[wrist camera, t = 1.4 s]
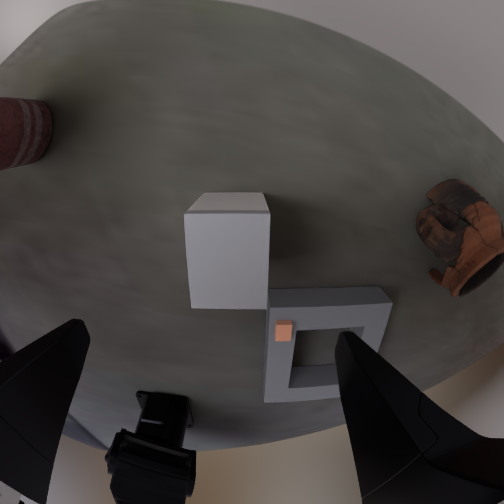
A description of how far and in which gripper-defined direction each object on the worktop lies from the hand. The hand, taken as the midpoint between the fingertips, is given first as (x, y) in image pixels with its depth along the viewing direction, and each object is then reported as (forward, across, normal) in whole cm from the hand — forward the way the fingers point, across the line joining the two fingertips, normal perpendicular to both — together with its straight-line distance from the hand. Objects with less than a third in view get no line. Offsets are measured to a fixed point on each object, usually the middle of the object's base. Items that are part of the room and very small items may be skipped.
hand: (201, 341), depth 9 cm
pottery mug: (+15, -19, +1) cm, 24 cm away
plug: (+14, 0, +1) cm, 14 cm away
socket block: (+13, -8, +12) cm, 20 cm away
